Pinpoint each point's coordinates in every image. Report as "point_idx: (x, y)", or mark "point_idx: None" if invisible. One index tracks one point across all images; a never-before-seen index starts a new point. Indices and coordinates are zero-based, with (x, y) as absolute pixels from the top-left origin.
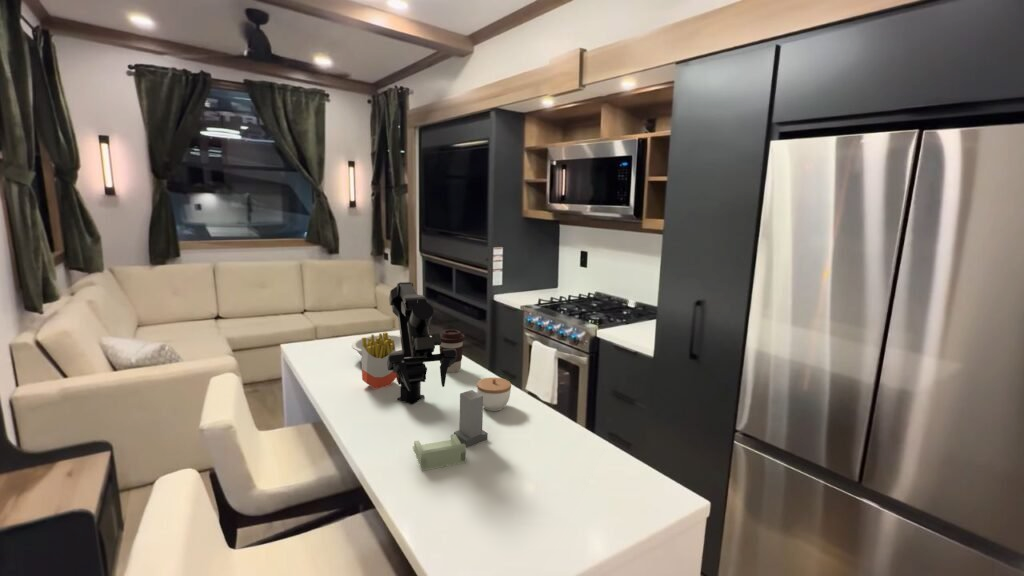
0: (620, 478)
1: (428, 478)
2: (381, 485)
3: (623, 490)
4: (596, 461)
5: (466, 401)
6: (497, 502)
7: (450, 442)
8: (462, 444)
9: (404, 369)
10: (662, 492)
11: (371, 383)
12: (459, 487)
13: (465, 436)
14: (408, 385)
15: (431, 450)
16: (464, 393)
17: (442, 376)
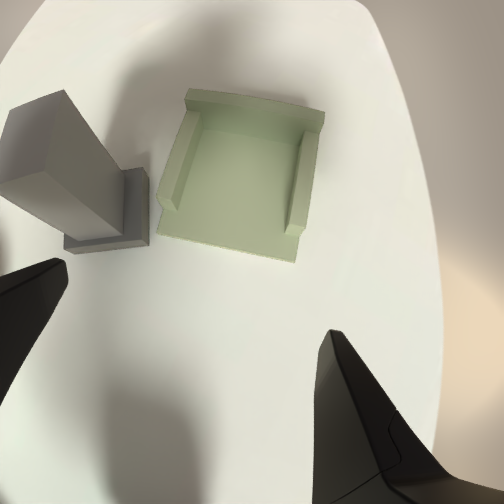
0: (47, 25)
1: None
2: (409, 148)
3: (70, 9)
4: (25, 58)
5: (65, 130)
6: (224, 18)
7: (174, 218)
8: (192, 97)
9: (414, 484)
10: (50, 5)
11: None
12: (261, 62)
13: (127, 194)
14: (349, 350)
15: (292, 111)
16: (31, 161)
17: (14, 289)
